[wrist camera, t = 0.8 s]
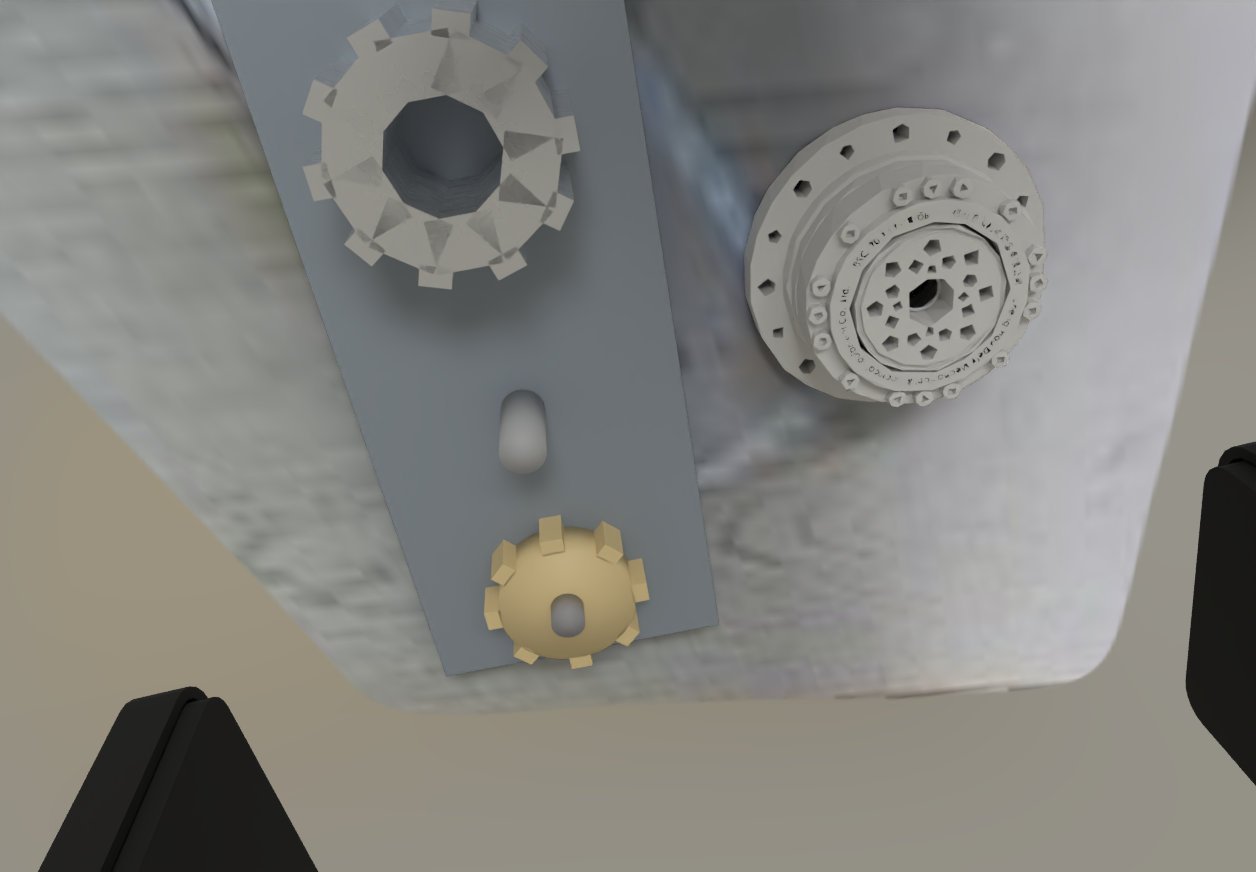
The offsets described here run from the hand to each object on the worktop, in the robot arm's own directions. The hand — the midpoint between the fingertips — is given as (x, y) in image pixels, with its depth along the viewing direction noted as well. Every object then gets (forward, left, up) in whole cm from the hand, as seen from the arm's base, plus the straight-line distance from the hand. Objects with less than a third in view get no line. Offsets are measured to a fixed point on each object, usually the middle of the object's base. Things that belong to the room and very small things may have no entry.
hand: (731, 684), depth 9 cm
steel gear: (-1, -4, -23) cm, 23 cm away
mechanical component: (+6, +9, -25) cm, 27 cm away
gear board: (+7, -4, -24) cm, 25 cm away
